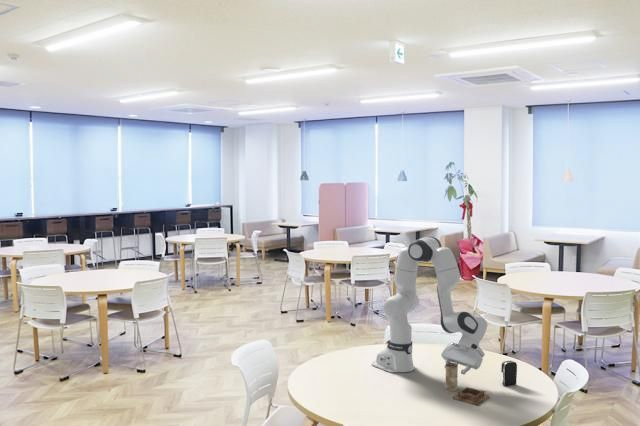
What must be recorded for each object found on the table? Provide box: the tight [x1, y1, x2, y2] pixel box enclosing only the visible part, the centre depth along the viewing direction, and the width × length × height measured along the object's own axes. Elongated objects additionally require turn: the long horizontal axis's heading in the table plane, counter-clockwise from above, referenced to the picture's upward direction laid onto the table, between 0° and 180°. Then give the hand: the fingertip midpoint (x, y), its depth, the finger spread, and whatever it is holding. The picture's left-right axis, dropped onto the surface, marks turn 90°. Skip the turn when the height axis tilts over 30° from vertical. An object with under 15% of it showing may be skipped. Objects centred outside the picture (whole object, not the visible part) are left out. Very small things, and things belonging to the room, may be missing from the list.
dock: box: [452, 386, 491, 407], centre depth 259 cm, size 12×12×3 cm
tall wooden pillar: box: [445, 362, 459, 392], centre depth 270 cm, size 4×4×12 cm
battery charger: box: [500, 360, 518, 387], centre depth 275 cm, size 7×4×11 cm, turn 110°
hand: (454, 371), depth 271 cm, fingers open, 8 cm apart
